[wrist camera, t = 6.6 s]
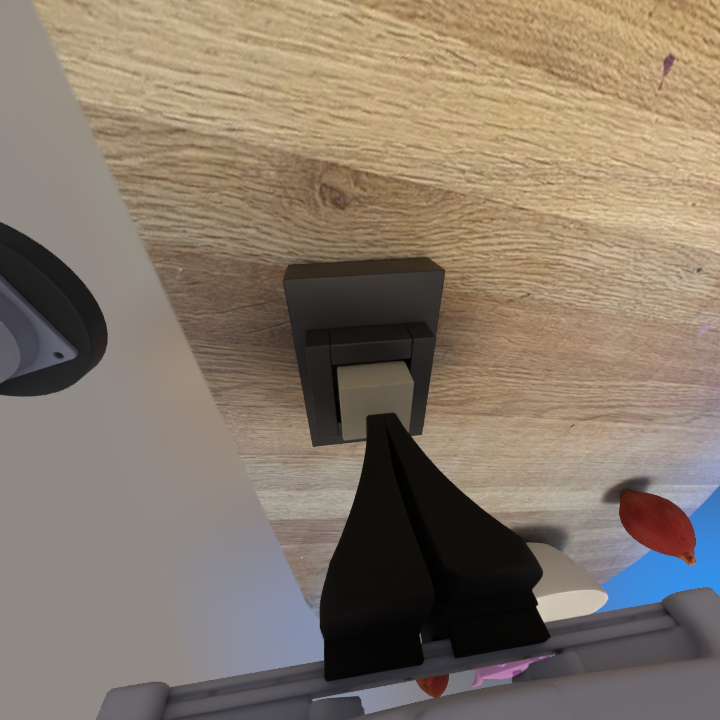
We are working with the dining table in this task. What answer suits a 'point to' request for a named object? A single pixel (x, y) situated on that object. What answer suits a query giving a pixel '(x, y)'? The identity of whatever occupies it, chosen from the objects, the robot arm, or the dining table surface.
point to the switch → (373, 394)
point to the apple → (434, 685)
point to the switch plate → (361, 330)
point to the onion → (658, 524)
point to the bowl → (564, 586)
